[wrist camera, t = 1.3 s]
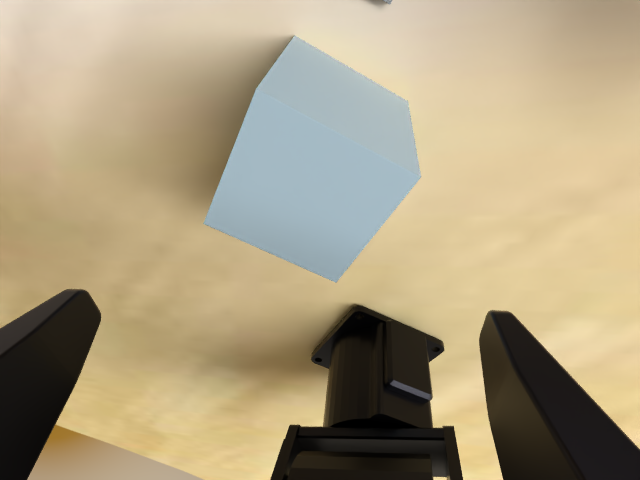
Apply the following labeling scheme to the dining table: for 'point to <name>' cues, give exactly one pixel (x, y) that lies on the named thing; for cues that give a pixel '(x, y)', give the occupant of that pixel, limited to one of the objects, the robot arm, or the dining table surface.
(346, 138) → the blue block
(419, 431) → the robot arm
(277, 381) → the dining table surface
